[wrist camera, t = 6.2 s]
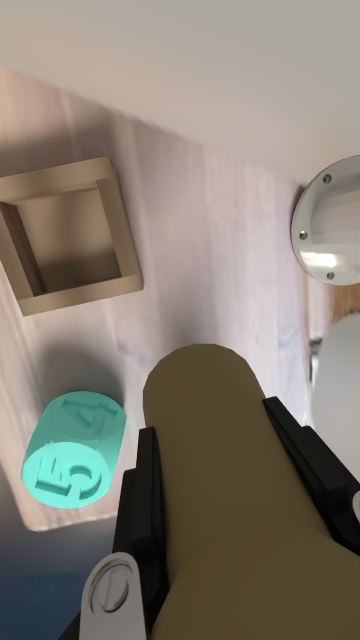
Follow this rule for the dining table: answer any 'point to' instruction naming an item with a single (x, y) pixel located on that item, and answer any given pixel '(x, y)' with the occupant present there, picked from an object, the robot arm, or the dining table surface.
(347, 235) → the robot arm
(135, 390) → the dining table surface
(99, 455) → the decorative dice
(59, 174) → the shaker holder
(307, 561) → the cork
